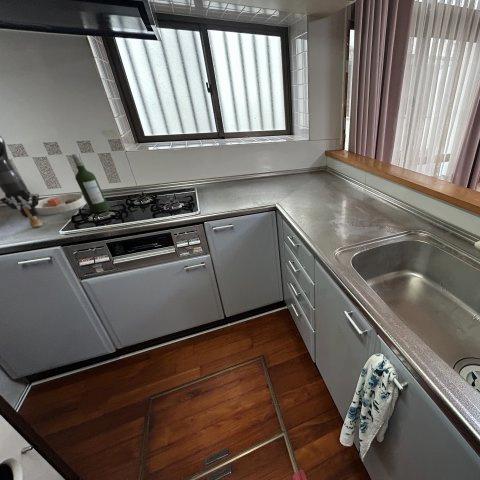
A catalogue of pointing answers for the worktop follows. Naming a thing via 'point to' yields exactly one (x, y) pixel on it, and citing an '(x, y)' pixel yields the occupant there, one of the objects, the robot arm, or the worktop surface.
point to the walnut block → (70, 201)
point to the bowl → (45, 209)
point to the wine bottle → (89, 187)
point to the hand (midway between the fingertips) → (31, 215)
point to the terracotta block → (53, 202)
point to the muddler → (32, 218)
